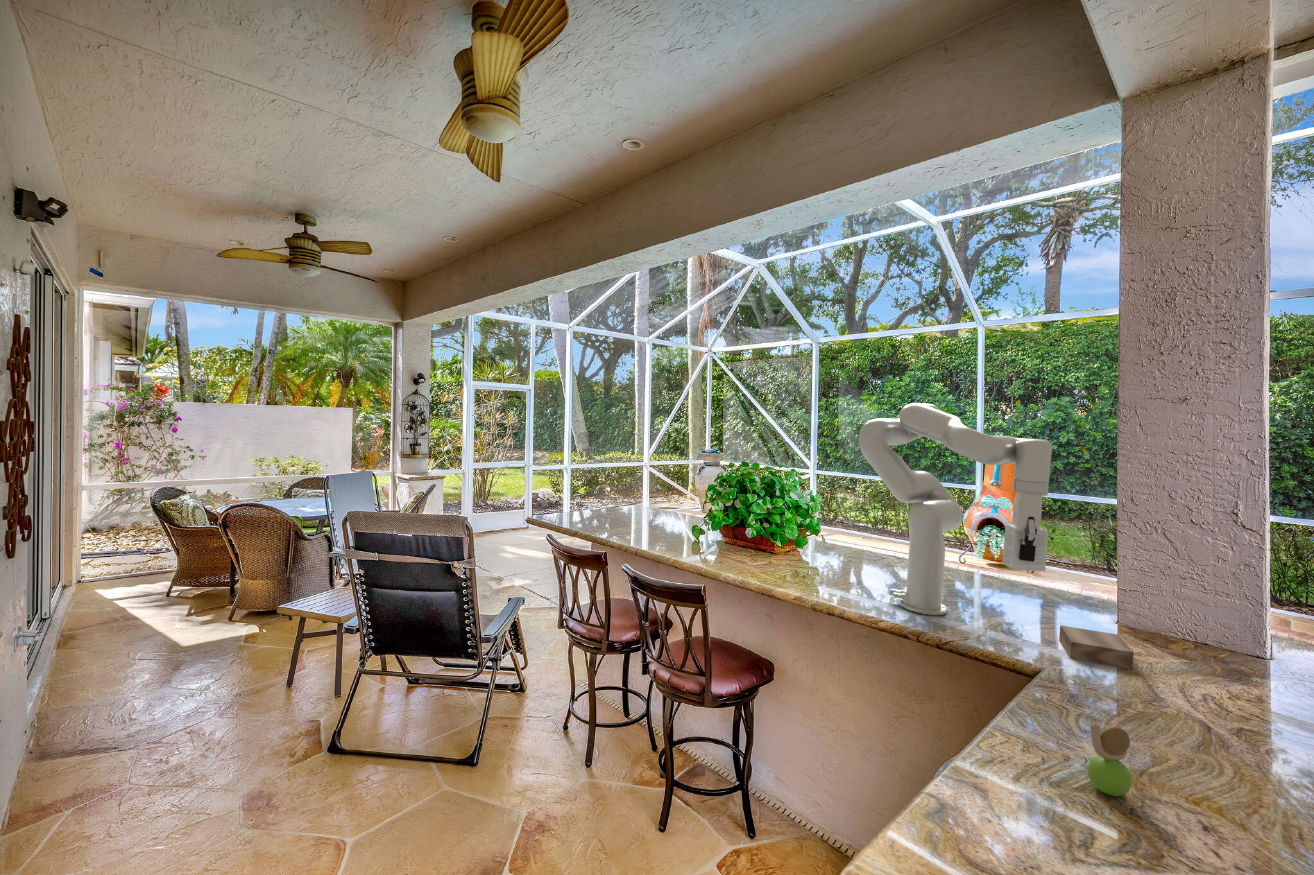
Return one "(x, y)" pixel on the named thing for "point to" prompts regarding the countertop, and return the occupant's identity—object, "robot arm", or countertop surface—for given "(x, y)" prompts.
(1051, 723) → the countertop surface
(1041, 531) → the small box
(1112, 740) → the snail figurine
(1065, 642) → the walnut plinth
